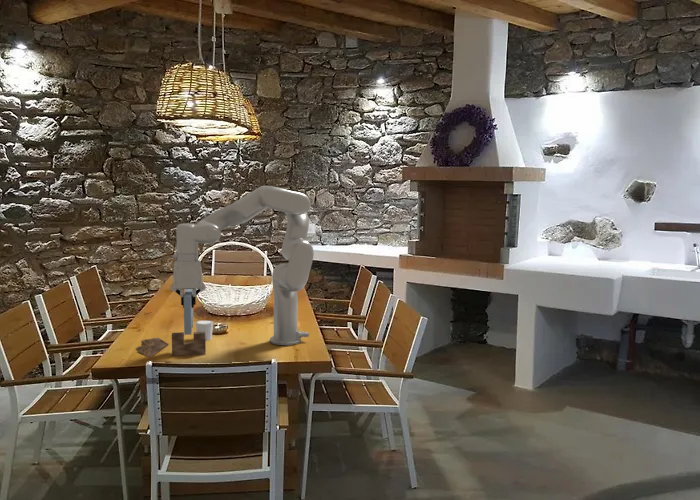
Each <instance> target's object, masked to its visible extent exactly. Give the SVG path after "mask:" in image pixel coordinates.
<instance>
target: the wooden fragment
mask: <svg viewBox="0 0 700 500" xmlns="http://www.w3.org/2000/svg"><path fill="white" fill-rule="evenodd" d="M168 345H169V344H168V343H167V342H166V341H164V340H163V339H162V338H160V337H153V338H147V339H143V340H141V346H138V347H136V349H137V351H136V354H137V353H138V354H140V355H142V356H146V358H152V357H154V356H155V355H156V354H157V353H159V352H160V351H161V350H162V349H163V348H165V347H167V346H168Z"/></svg>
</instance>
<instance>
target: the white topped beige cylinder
mask: <svg viewBox="0 0 700 500" xmlns="http://www.w3.org/2000/svg"><path fill="white" fill-rule="evenodd" d="M195 328H196V330H195V331H196V332H205V336H206V341H211V340H212V338H213V328H214V321H213V320H207V319H205V320H197V321H196V322H195Z"/></svg>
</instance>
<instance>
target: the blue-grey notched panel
mask: <svg viewBox="0 0 700 500" xmlns="http://www.w3.org/2000/svg"><path fill="white" fill-rule="evenodd" d="M192 294H193V292H192V289H185V290H184V308H183V326H184V327H183V330H184V331H183V332H184V336H185V335H186V336H187V335H192V332H193V328H194V327H193V326H194V308H192Z"/></svg>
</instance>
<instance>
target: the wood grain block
mask: <svg viewBox="0 0 700 500" xmlns="http://www.w3.org/2000/svg"><path fill="white" fill-rule="evenodd" d="M206 347H207V346H206V336H205V332H197V331H193V341H192V342H185V335H184V331H183V332H171V356H195V355H206V352H207V349H206Z"/></svg>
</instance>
